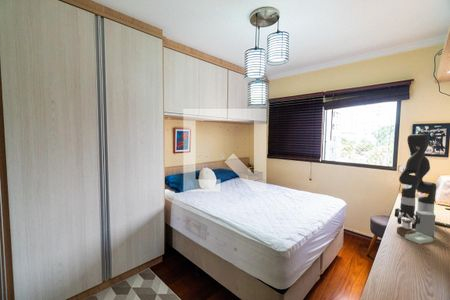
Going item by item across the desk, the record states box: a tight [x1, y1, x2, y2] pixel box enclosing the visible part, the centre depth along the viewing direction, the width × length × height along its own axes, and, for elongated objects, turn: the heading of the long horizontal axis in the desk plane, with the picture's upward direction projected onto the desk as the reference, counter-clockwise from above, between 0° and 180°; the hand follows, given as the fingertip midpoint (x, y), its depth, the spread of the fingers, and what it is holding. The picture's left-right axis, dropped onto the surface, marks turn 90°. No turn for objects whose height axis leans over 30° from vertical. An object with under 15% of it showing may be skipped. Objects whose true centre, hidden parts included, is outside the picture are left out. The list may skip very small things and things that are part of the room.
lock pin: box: [401, 218, 412, 231], centre depth 142 cm, size 5×5×10 cm
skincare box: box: [414, 210, 436, 238], centre depth 141 cm, size 8×7×16 cm
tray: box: [404, 232, 434, 245], centre depth 134 cm, size 13×8×2 cm, turn 105°
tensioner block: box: [396, 225, 416, 237], centre depth 142 cm, size 7×7×4 cm
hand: (406, 226), depth 142 cm, fingers open, 8 cm apart
